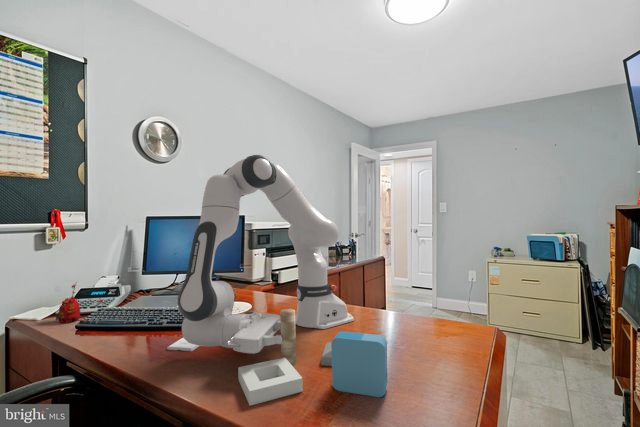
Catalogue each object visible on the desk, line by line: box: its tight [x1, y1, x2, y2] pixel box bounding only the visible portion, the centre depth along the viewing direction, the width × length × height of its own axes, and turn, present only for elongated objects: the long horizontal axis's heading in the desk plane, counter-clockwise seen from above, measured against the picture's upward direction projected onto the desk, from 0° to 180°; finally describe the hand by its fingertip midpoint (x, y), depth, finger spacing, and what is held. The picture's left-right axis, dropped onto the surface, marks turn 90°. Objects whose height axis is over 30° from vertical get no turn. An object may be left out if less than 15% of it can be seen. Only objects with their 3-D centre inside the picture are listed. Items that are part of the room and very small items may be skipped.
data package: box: [331, 331, 388, 398], centre depth 72 cm, size 12×4×12 cm, turn 72°
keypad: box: [320, 341, 332, 367], centre depth 88 cm, size 10×4×15 cm
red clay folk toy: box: [57, 281, 81, 324], centre depth 126 cm, size 8×7×15 cm
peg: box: [279, 308, 297, 366], centre depth 86 cm, size 4×4×14 cm
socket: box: [237, 357, 304, 406], centre depth 74 cm, size 12×12×3 cm
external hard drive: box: [166, 337, 200, 352], centre depth 101 cm, size 2×8×12 cm
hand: (287, 333), depth 86 cm, fingers open, 8 cm apart
